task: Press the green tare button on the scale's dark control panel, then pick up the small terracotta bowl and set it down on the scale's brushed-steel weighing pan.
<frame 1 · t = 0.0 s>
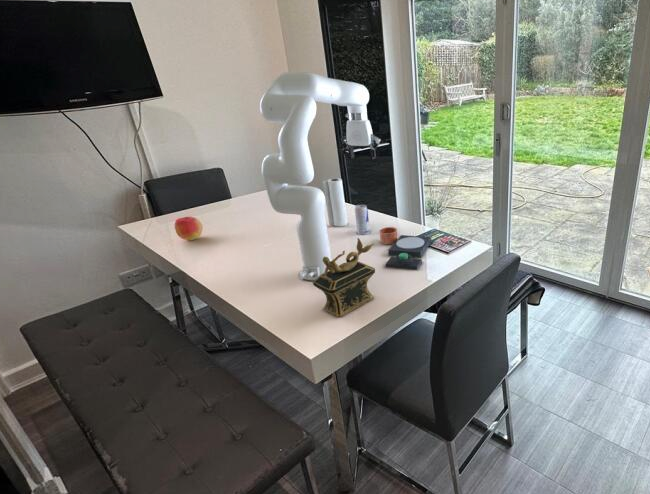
hand: (362, 158, 173), 31 cm above the table, tool pointing down, fingers open, 9 cm apart
paper towel roll: (340, 224, 189), on the table
scale: (410, 248, 163), on the table
decorative box: (353, 302, 128), on the table
scale panel: (404, 264, 150), on the table
tare button: (403, 256, 149), point 3 cm above the table, slide at 0.1 cm
apple: (192, 239, 175), on the table
bowl: (389, 241, 170), on the table
energy drink: (363, 232, 180), on the table
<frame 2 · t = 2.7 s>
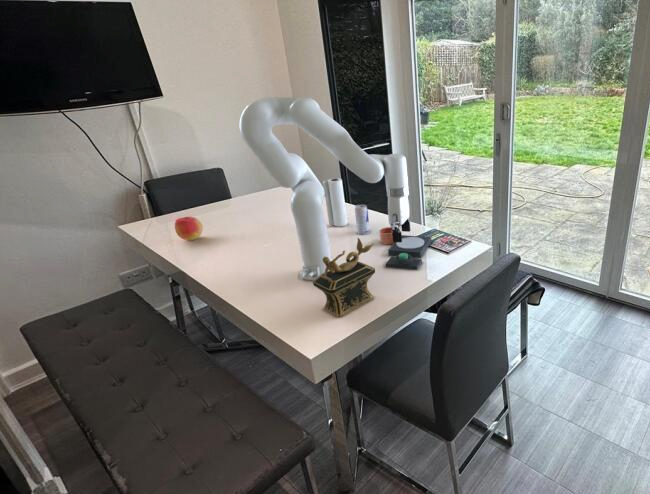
hand: (402, 236, 147), 11 cm above the table, tool pointing down, fingers open, 9 cm apart
nothing on the table moved.
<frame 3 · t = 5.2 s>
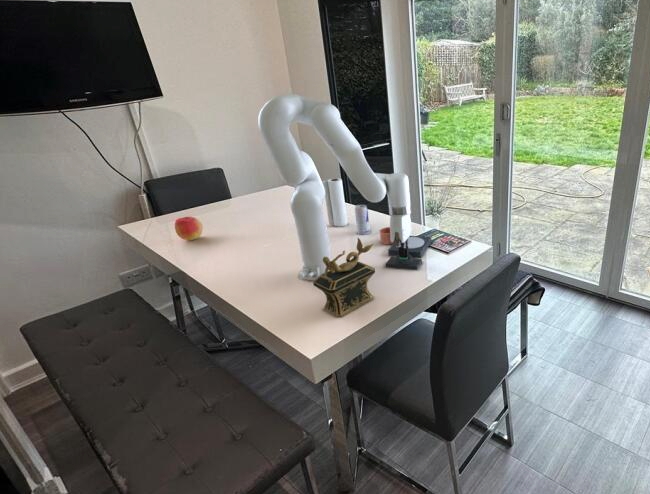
hand: (404, 256, 149), 3 cm above the table, tool pointing down, fingers closed
tare button: (403, 258, 149), point 3 cm above the table, slide at -0.7 cm, touching gripper
everything else where it was.
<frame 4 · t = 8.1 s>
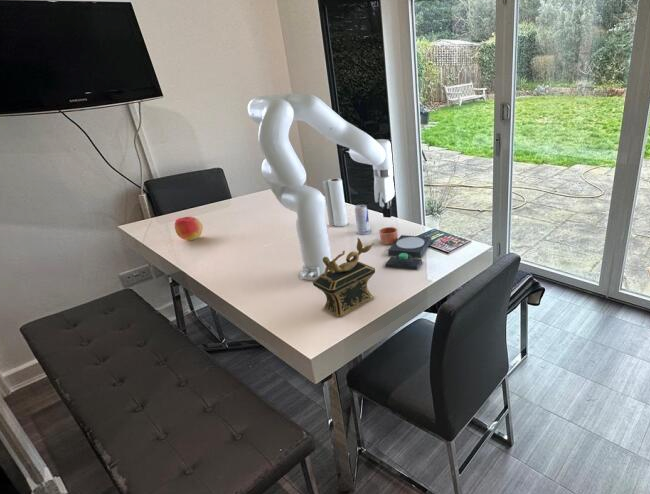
hand: (387, 216, 165), 11 cm above the table, tool pointing down, fingers closed
tare button: (403, 256, 149), point 3 cm above the table, slide at 0.1 cm
everything else where it was.
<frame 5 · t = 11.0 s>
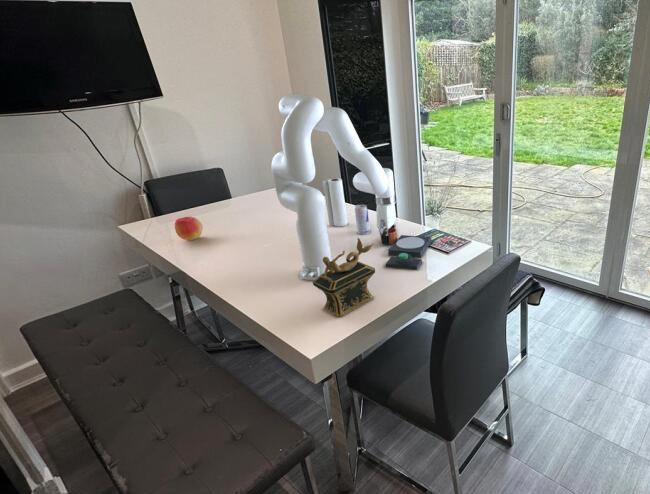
hand: (389, 240, 169), 1 cm above the table, tool pointing down, fingers closed on bowl, 7 cm apart
bowl: (389, 241, 170), on the table, touching gripper
everything else where it was.
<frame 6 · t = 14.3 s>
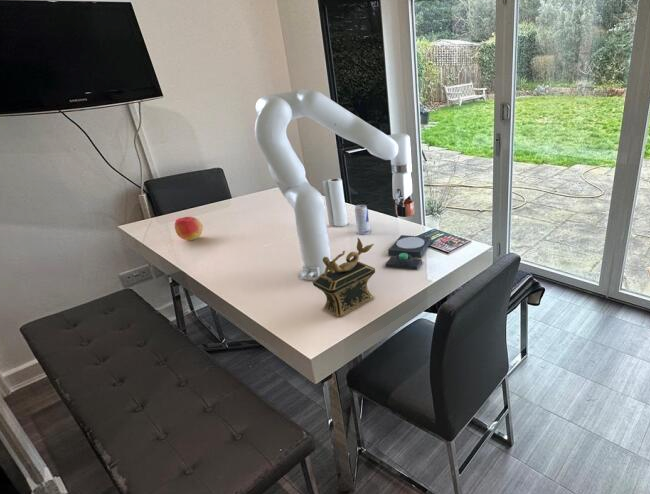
hand: (405, 212, 158), 15 cm above the table, tool pointing down, fingers closed on bowl, 7 cm apart
bowl: (405, 214, 159), point 14 cm above the table, touching gripper
everything else where it was.
when the fingers open (4 cm above the table, at t = 17.5 s): bowl stays where it is, resting on scale.
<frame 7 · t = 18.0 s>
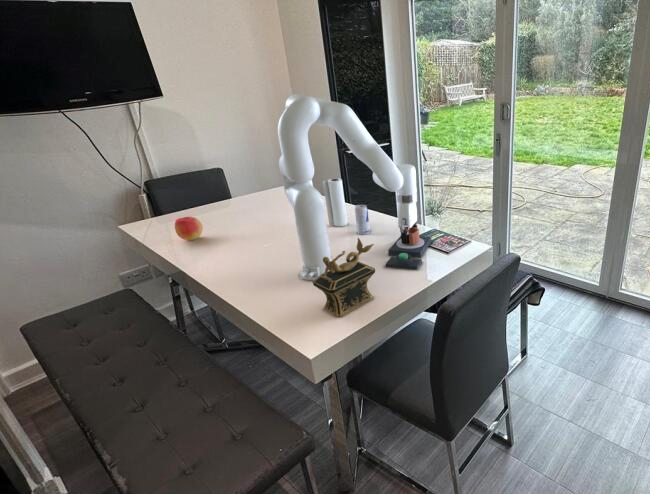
hand: (409, 238, 161), 4 cm above the table, tool pointing down, fingers open, 9 cm apart
bowl: (410, 242, 162), point 3 cm above the table, touching scale
everything else where it was.
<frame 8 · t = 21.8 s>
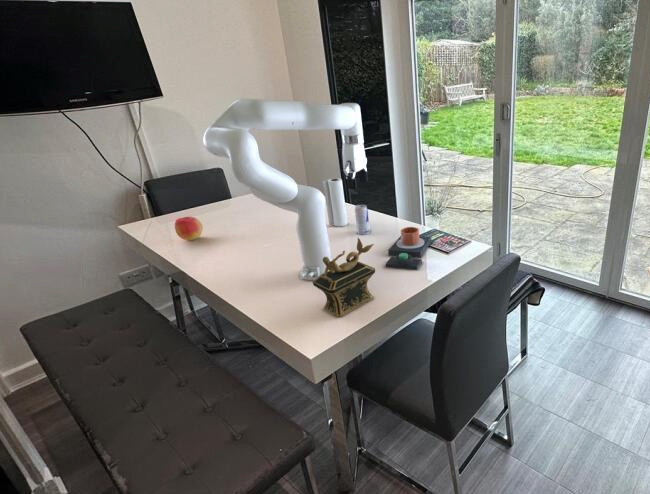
hand: (358, 185, 153), 26 cm above the table, tool pointing down, fingers open, 9 cm apart
nothing on the table moved.
at the end: tare button pushed in 0.9 cm at the most during the clip, back to where it started at the end; bowl inside the target area on the scale (0.1 cm from its centre), point 2.8 cm above the scale's base; bowl tilted 0° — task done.
